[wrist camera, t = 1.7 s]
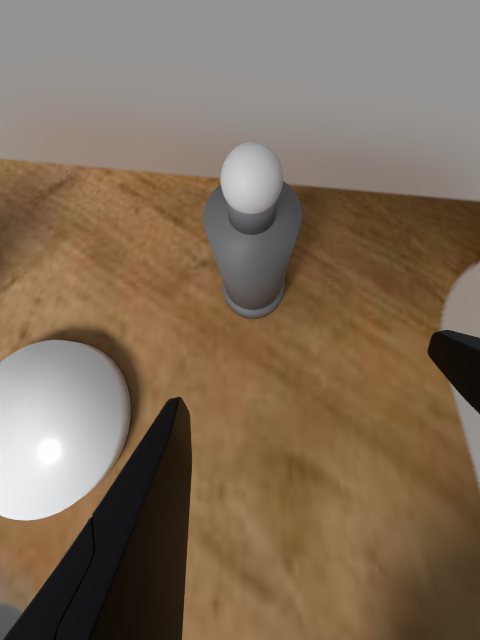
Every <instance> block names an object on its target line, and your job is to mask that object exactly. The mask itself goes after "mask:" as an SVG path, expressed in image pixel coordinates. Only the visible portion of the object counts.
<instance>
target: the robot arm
mask: <svg viewBox="0 0 480 640" xmlns="http://www.w3.org/2000/svg"><path fill="white" fill-rule="evenodd" d="M428 355H429V357H430V358H431V360H432V361H433V362H434V363H435V364H436V366H437V367H438V368H439V369H440V370H441V372H442V373H443V374H444V375H445V376H446V378H447V379H448V380H449V381H450V382H451V384H452V385H453V386H454V387H455V388H456V390H458V392H459V393H460V394H461V395H462V396H463V397H464V398H465V400H466V401H467V402H468V403H469V404H470V405H471V406H472V407H474V409H475V410H476V411H477V412H478V413H479V414H480V338H478V337H474V336H470V335H466V334H462V333H458V332H454V331H450V330H443V331H439V332H435V333H434V334H433V335H432V337H431V340H430V343H429V347H428ZM191 474H192V448H191V427H190V414H189V411H188V409H187V407H186V405H185V403H184V401H183V399H182V398H181V397H175V398H171V399H169V400H168V401H167V402H166V404H165V405H164V407H163V408H162V410H161V411H160V413H159V415H158V416H157V418H156V419H155V421H154V422H153V424H152V425H151V427H150V428H149V430H148V431H147V433H146V434H145V436H144V437H143V439H142V440H141V442H140V443H139V445H138V446H137V448H136V449H135V451H134V452H133V454H132V455H131V457H130V458H129V460H128V461H127V463H126V464H125V466H124V467H123V469H122V470H121V472H120V473H119V475H118V476H117V478H116V479H115V481H114V482H113V484H112V485H111V487H110V488H109V490H108V491H107V493H106V494H105V496H104V497H103V499H102V500H101V502H100V503H99V505H98V506H97V508H96V509H95V511H94V512H93V514H92V517H91V518H89V520H88V521H87V523H86V524H85V526H84V527H83V529H82V530H81V532H80V533H79V535H78V536H77V538H76V539H75V541H74V542H73V544H72V545H71V547H70V548H69V550H68V551H67V552H66V554H65V555H64V557H63V558H62V560H61V561H60V563H59V564H58V565H57V567H56V568H55V570H54V571H53V572H52V574H51V575H50V576H49V578H48V579H47V581H46V582H45V583H44V585H43V586H42V588H41V589H40V590H39V592H38V593H37V594H36V596H35V597H34V599H33V600H32V601H31V603H30V604H29V605H28V607H27V608H26V609H25V611H24V612H23V613H22V615H21V616H20V617H19V619H18V620H17V621H16V623H15V624H14V625H13V627H12V628H11V629H10V631H9V632H8V633H7V635H6V636H5V638H4V639H3V640H182V628H183V610H184V593H185V576H186V559H187V542H188V525H189V508H190V491H191Z"/></svg>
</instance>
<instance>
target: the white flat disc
mask: <svg viewBox="0 0 480 640" xmlns="http://www.w3.org/2000/svg"><path fill="white" fill-rule="evenodd" d="M130 419H131V402H130V395H129V390H128V386H127V384H126V381H125V378H124V376H123V374H122V373H121V371H120V369H119V368H118V366H117V365H116V364H115V362H114V361H113V360H112V359H111V358H110V357H109V356H108V355H106V354H105V353H103V352H102V351H101V350H99V349H97V348H95V347H93V346H90V345H87V344H83V343H77V342H71V341H65V340H48V341H42V342H38V343H34V344H31V345H28V346H26V347H24V348H22V349H20V350H18V351H16V352H14V353H13V354H11V355H10V356H8V357H7V358H5V359H4V360H3V361H2V362H0V515H1V516H3V517H6V518H10V519H15V520H36V519H40V518H45V517H48V516H51V515H53V514H56V513H59V512H60V511H62V510H64V509H66V508H68V507H69V506H71V505H72V504H74V503H75V502H76V501H78V500H79V499H81V498H82V497H83V496H85V495H86V494H87V493H89V492H90V491H92V490H93V489H94V488H95V487H96V486H97V485H98V484H99V483H100V482H102V481H103V479H104V478H105V477H106V476H107V475H108V473H109V472H110V471H111V469H112V468H113V466H114V465H115V463H116V462H117V460H118V458H119V456H120V454H121V452H122V450H123V447H124V445H125V442H126V439H127V435H128V431H129V427H130Z"/></svg>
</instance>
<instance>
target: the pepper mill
mask: <svg viewBox="0 0 480 640" xmlns="http://www.w3.org/2000/svg"><path fill="white" fill-rule="evenodd" d="M203 220H204V227H205V230H206V233H207V236H208V239H209V242H210V245H211V248H212V251H213V254H214V256H215V259H216V262H217V265H218V268H219V271H220V274H221V277H222V289H223V293H224V296H225V298H226V301H227V303H228V305H229V307H230V308H231V309H232V310H233V311H234V312H235V313H236V314H238V315H239V316H242V317H244V318H249V319H257V318H262V317H265V316H267V315H269V314H270V313H272V312H273V311H274V310H275V309H276V308H277V306H278V305H279V303H280V301H281V298H282V295H283V292H284V287H285V280H284V277H285V274H286V271H287V268H288V265H289V261H290V258H291V255H292V252H293V249H294V245H295V242H296V239H297V236H298V233H299V229H300V226H301V223H302V207H301V203H300V200H299V198H298V196H297V194H296V193H295V192H294V190H293V189H292V188H291V187H290V186H289V185H288V184H286V183H285V182H284V181H283V170H282V166H281V163H280V160H279V158H278V156H277V155H276V154H275V152H274V151H273V150H272V149H271V148H269V147H268V146H267V145H265V144H262V143H259V142H247V143H244V144H241V145H239V146H237V147H236V148H235V149H233V151H231V153H230V154H229V155H228V157H227V158H226V160H225V162H224V165H223V167H222V172H221V185H219V186H218V187H217V188H216V189H215V190H214V191H213V192H212V194H211V195H210V197H209V198H208V200H207V202H206V205H205V208H204V215H203Z"/></svg>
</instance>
